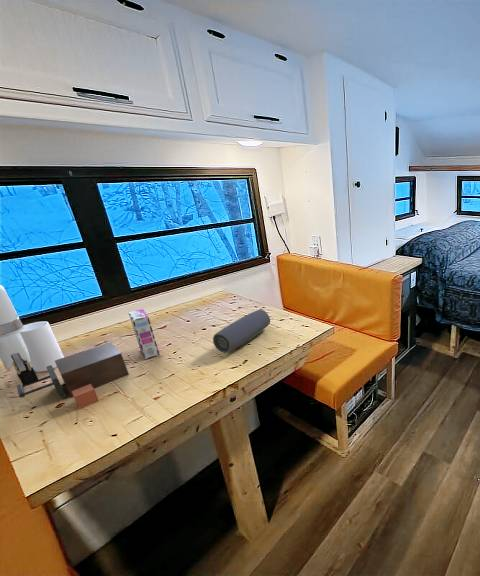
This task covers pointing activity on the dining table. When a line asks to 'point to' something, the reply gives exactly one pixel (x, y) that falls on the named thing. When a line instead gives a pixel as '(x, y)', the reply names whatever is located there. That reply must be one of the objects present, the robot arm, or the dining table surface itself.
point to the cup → (41, 345)
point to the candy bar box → (144, 333)
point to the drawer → (54, 380)
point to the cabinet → (92, 367)
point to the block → (85, 396)
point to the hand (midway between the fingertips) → (30, 381)
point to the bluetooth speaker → (241, 331)
